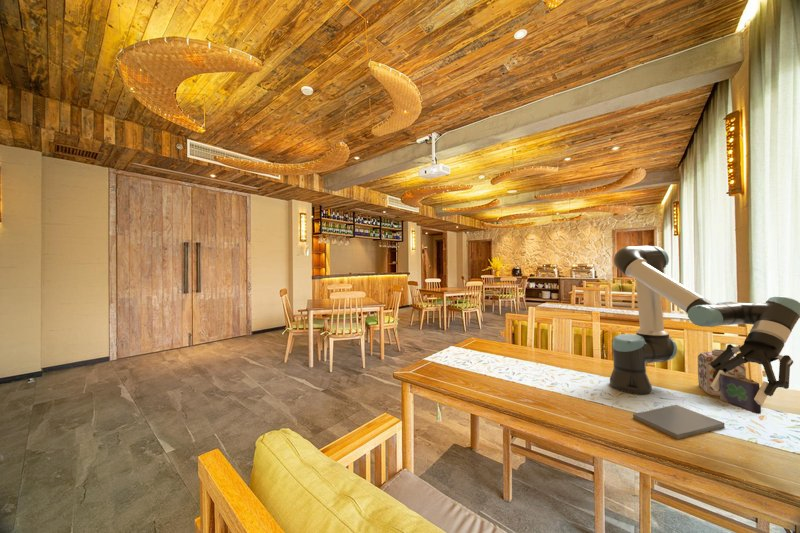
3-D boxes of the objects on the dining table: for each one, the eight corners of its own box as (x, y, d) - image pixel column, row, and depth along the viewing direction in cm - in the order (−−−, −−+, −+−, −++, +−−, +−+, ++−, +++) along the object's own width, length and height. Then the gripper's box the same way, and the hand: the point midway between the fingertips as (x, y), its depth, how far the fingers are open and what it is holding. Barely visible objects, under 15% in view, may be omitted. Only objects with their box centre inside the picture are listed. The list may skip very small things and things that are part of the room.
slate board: (633, 418, 107) (633, 414, 107) (676, 408, 113) (676, 404, 113) (677, 439, 94) (677, 434, 94) (724, 427, 99) (724, 422, 99)
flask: (718, 400, 94) (717, 367, 94) (725, 399, 95) (724, 366, 95) (756, 414, 85) (755, 378, 85) (764, 413, 86) (764, 377, 86)
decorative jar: (748, 400, 117) (746, 356, 117) (707, 394, 123) (705, 352, 123) (735, 389, 127) (733, 348, 127) (697, 384, 133) (696, 345, 133)
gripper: (828, 355, 84) (796, 420, 80) (726, 337, 105) (697, 388, 101) (817, 339, 82) (783, 404, 78) (716, 324, 103) (685, 375, 99)
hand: (734, 395), depth 90 cm, fingers closed on flask, 9 cm apart
